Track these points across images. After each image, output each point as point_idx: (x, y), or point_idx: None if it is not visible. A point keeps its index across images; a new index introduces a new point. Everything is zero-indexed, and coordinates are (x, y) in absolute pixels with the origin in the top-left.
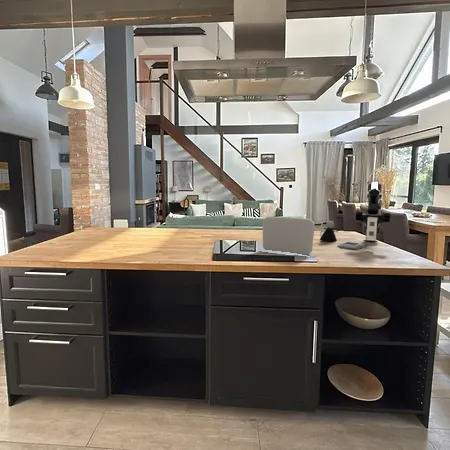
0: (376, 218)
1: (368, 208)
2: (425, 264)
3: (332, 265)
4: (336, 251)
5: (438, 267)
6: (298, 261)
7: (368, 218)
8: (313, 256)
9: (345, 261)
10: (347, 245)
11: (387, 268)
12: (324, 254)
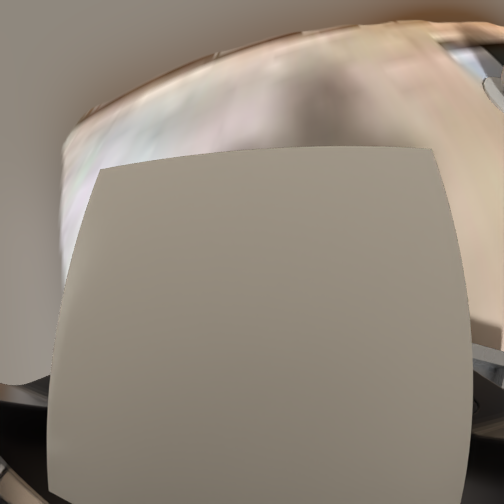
0: (126, 172)
1: None
2: (95, 148)
3: (390, 30)
4: (486, 213)
5: (79, 134)
6: (474, 45)
7: (400, 166)
8: (484, 82)
9: (377, 62)
10: (472, 345)
11: (240, 49)
12: (487, 129)
